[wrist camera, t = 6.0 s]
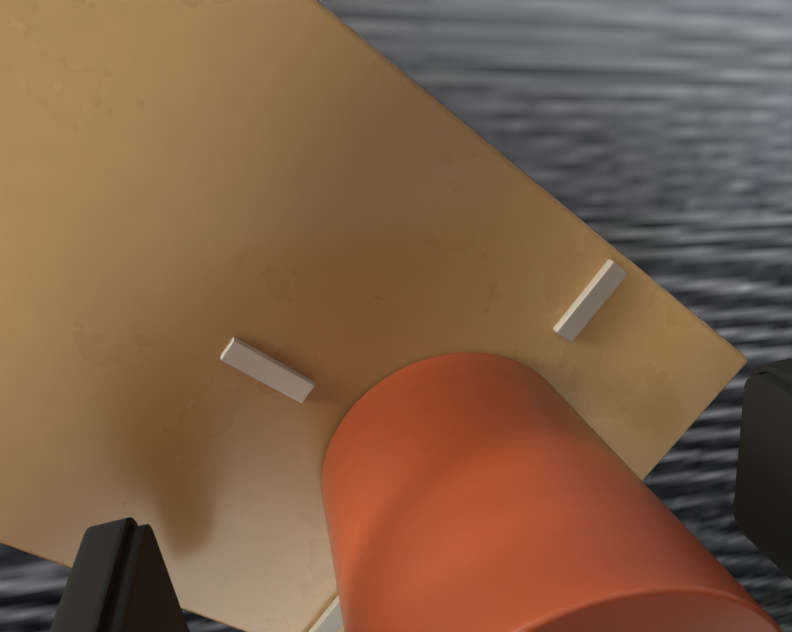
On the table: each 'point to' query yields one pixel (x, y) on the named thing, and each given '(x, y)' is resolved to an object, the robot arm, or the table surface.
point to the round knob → (506, 516)
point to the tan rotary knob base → (272, 286)
